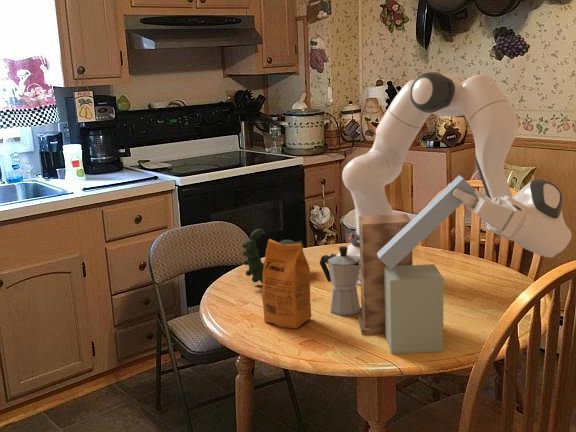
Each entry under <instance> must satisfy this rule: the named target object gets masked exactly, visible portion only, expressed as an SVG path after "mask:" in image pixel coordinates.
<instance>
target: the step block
mask: <svg viewBox="0 0 576 432" xmlns="http://www.w3.org/2000/svg"><path fill="white" fill-rule="evenodd" d="M384 291H385V333H384V336H385V340H386V342H387V345H388V349H389V351H390V354H391V355H394V354H395V355H396V354H399V355H400V354H413V353H414V354H416V353H440V352H444V276H443V275H442V274H441V273H440V271H439V269H438V267H437V266H436V265H435V264H434V263H433V264H432V263H431V264H430V263H429V264H412V265H407V266H395V267H394V268H393V269H392V270H390V269H389V268H388V267H387V266H386V267H384Z"/></svg>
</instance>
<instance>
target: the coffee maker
mask: <svg viewBox="0 0 576 432" xmlns="http://www.w3.org/2000/svg"><path fill="white" fill-rule="evenodd" d="M338 249H339V250H338V251H339V252H340V255H339V256H337V254H336V253H331V254H330V255H328V254H324V255H322V256H321V257H320V259H319V265H320V267H321V270H322V272H323V274H324V276H325V278H326V280H327V282H328V283H330V282H331V284H332V285H333V286H332V293H331V301H330V313H331V314H334V315H336V316H339V317H347V316H351V317H352V316H354V315H357V313H362V309H361V307H360V301H359V300H360V299H359V295H358V290H357V284H356V283H357V282H358V274H359V270H360V259H359V258H357V257H356V256H352V255H347V249H348V247H347V246H345V245H343V246H339V247H338Z"/></svg>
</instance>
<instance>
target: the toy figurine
mask: <svg viewBox="0 0 576 432" xmlns="http://www.w3.org/2000/svg"><path fill="white" fill-rule="evenodd" d="M261 235H264V236H265V235H266V231H265V230H264V229H262V228H257V229H255V230H253V231H252V232H251V233H250V239H247V240H246V241H245V242H244V243H243V244H242V245H241V247H242V248H243V249H245V250H244V251H242V256H244V257H246V258H247V259H246V260H243V265H245V266H248V269H247V270H246V271H245V276H247V277H250V276H251V275H252V277H251V281H252V282H253V283H258V282H260V284H263V269H264V262H262V259H261V257H260V255H259V249H258V248H257V243H256V241H258V240H259V238H260V237H261ZM303 241H304V240H298V241H294V240H291V239H282V240H281V241H279V242H278V243H280V244H303Z"/></svg>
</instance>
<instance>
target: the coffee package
mask: <svg viewBox="0 0 576 432" xmlns="http://www.w3.org/2000/svg"><path fill="white" fill-rule="evenodd" d="M267 240H268V241H267V245H266V249H265V254H264V255H265V256H264V262H263V263H264V269H263V284H262V283H261V284H262V289H261V291H262V293H261V299H262V304H263V305H262V306H263V320H264V323H268V324H274V325H276V326H277V327H279V328H284V329H285V328H286V329H298V328H299V327H301V326H302V325H303V324H305V323H306V322H307V321H309V320H310V319H311V318H312V304H311V279H310V277H311V269H310V266H309V262H308V260H307V258H306V255H305V252H304V250H303V249H304V248H305V246H304V244H303V243H302V244H280V243H279V242H278V241H276V240H273V239H271V238H269V239H267Z"/></svg>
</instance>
